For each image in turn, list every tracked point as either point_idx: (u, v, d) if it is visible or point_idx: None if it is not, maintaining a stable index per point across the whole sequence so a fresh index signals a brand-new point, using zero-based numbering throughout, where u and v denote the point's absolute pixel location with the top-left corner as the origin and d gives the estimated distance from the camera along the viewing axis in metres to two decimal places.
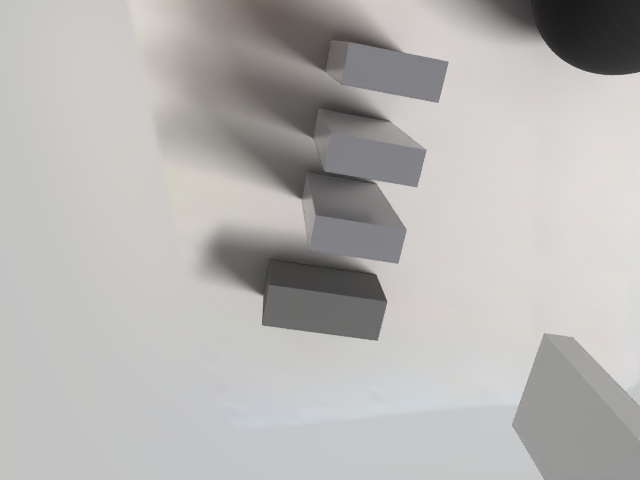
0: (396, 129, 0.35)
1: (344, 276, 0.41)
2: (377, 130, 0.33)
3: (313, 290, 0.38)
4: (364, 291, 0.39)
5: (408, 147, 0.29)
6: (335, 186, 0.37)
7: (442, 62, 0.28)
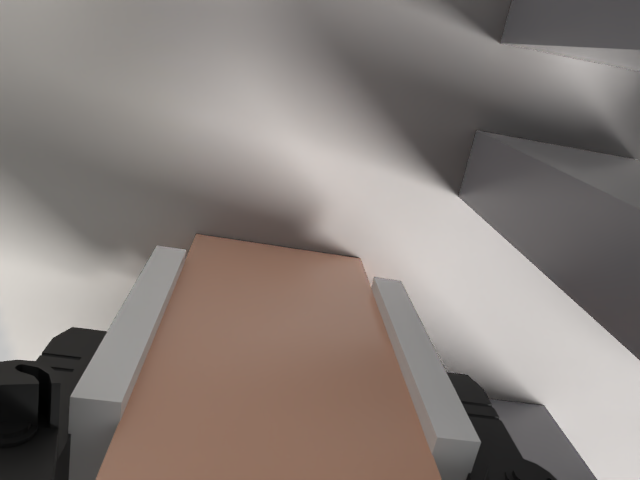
0: None
1: None
2: None
3: None
4: None
5: None
6: None
7: None
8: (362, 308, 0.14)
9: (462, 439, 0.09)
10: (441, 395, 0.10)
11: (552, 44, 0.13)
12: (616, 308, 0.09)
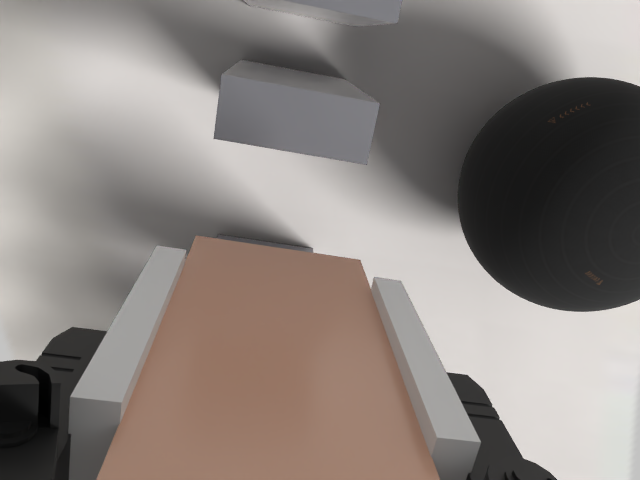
0: None
1: None
2: None
3: None
4: None
5: None
6: None
7: None
8: (362, 310, 0.14)
9: (462, 439, 0.09)
10: (441, 395, 0.10)
11: None
12: None
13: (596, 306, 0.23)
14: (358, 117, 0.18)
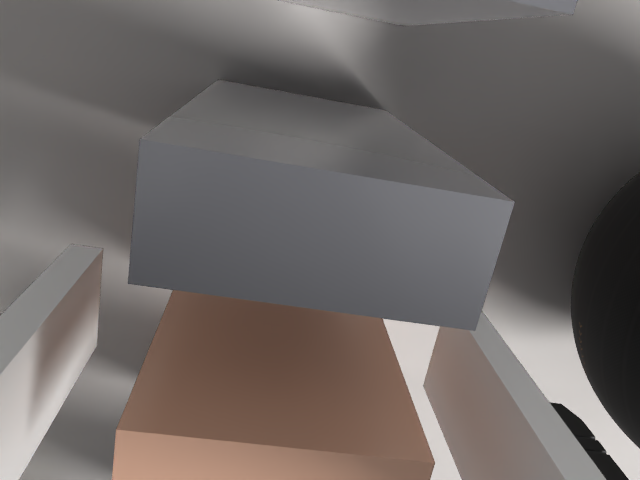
0: None
1: None
2: None
3: None
4: None
5: None
6: None
7: None
8: None
9: None
10: (554, 431, 0.10)
11: None
12: None
13: None
14: (465, 232, 0.08)
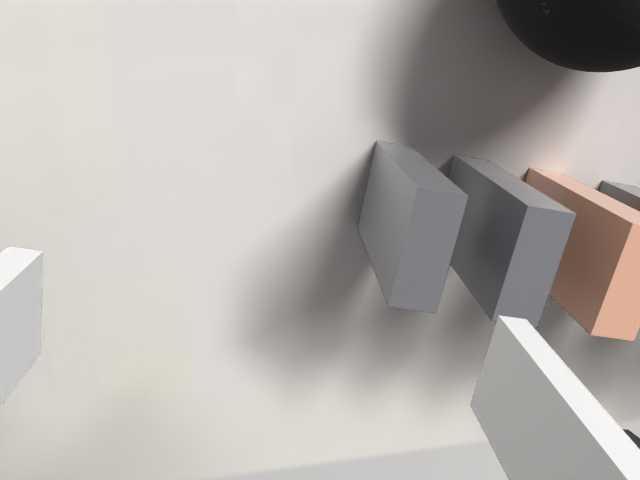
0: None
1: None
2: None
3: None
4: None
5: None
6: None
7: None
8: (555, 191, 0.29)
9: None
10: (636, 464, 0.10)
11: None
12: None
13: None
14: (536, 221, 0.22)
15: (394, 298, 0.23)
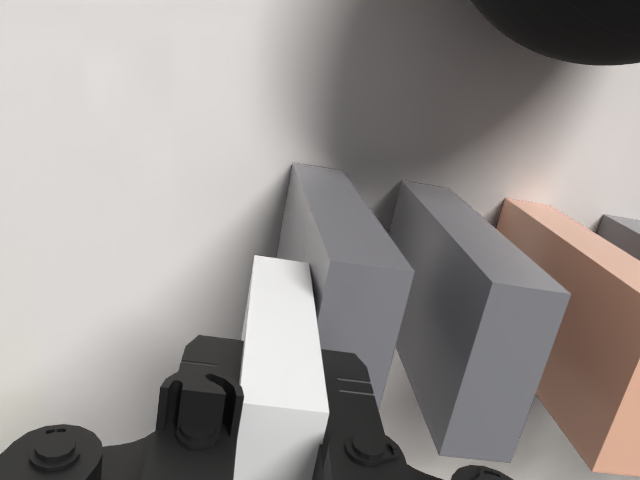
0: None
1: None
2: None
3: None
4: None
5: None
6: None
7: None
8: (539, 236, 0.20)
9: (310, 410, 0.09)
10: (305, 369, 0.10)
11: None
12: None
13: None
14: (507, 307, 0.14)
15: None
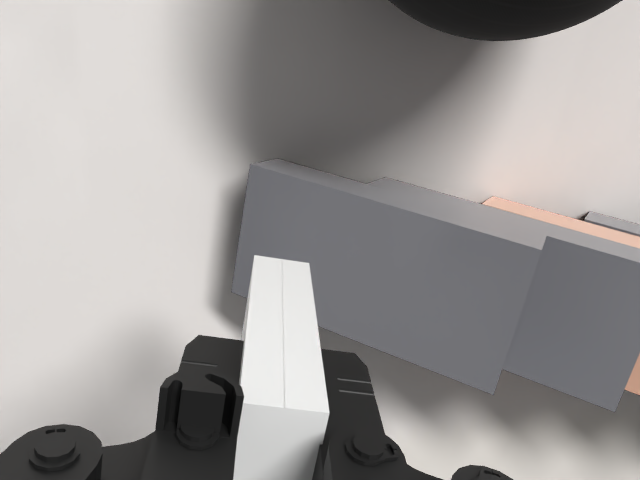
0: None
1: None
2: None
3: None
4: None
5: None
6: None
7: None
8: None
9: (310, 409, 0.09)
10: (305, 369, 0.10)
11: None
12: None
13: None
14: None
15: (497, 382, 0.18)
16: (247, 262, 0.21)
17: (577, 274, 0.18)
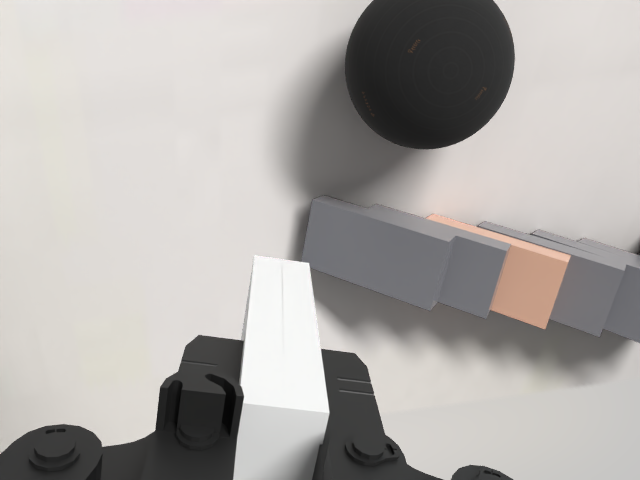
0: None
1: None
2: None
3: None
4: None
5: None
6: None
7: None
8: None
9: (310, 410, 0.09)
10: (305, 369, 0.10)
11: None
12: None
13: (506, 74, 0.32)
14: (505, 257, 0.38)
15: (432, 305, 0.38)
16: (309, 248, 0.41)
17: (466, 252, 0.38)
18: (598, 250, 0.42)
